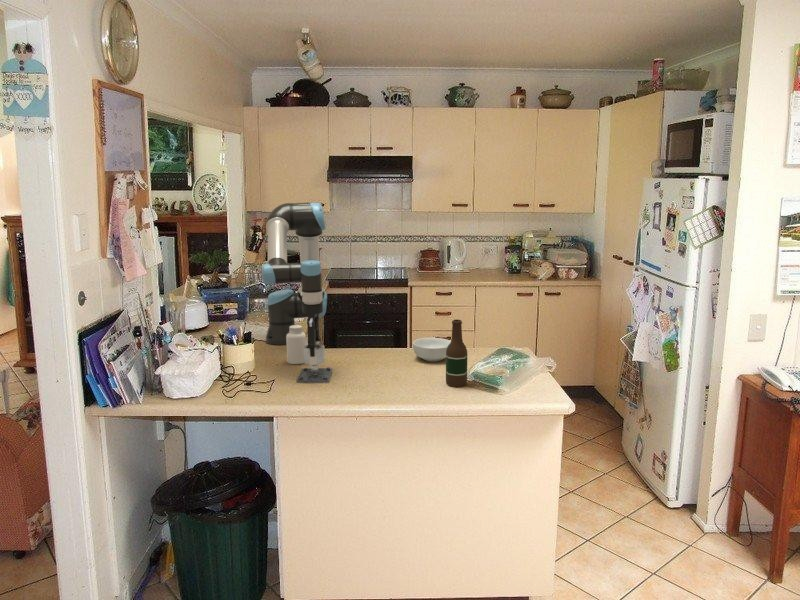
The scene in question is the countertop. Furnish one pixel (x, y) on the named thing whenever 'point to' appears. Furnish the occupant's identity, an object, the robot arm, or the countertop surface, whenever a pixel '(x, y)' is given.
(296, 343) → the pill bottle
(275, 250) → the robot arm
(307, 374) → the shaft stand
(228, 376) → the countertop surface
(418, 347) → the cereal bowl
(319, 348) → the hub
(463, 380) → the beer bottle
